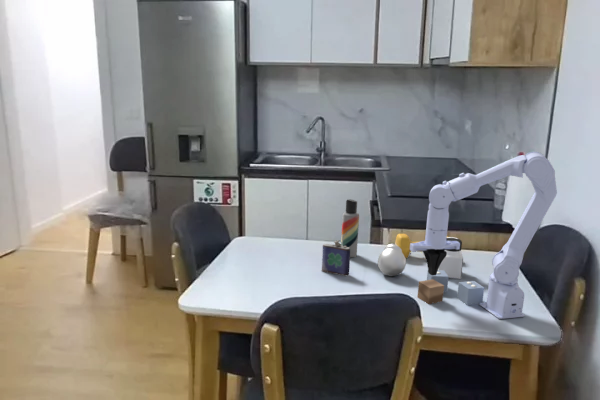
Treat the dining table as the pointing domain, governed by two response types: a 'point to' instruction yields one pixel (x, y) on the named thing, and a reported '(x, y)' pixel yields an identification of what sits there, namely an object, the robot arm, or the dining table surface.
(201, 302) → the dining table surface
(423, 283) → the walnut block
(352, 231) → the lotion bottle
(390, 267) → the silver round ornament
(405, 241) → the dumbbell
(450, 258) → the medicine bottle
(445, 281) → the dotted block
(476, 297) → the dotted block
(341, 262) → the flask
